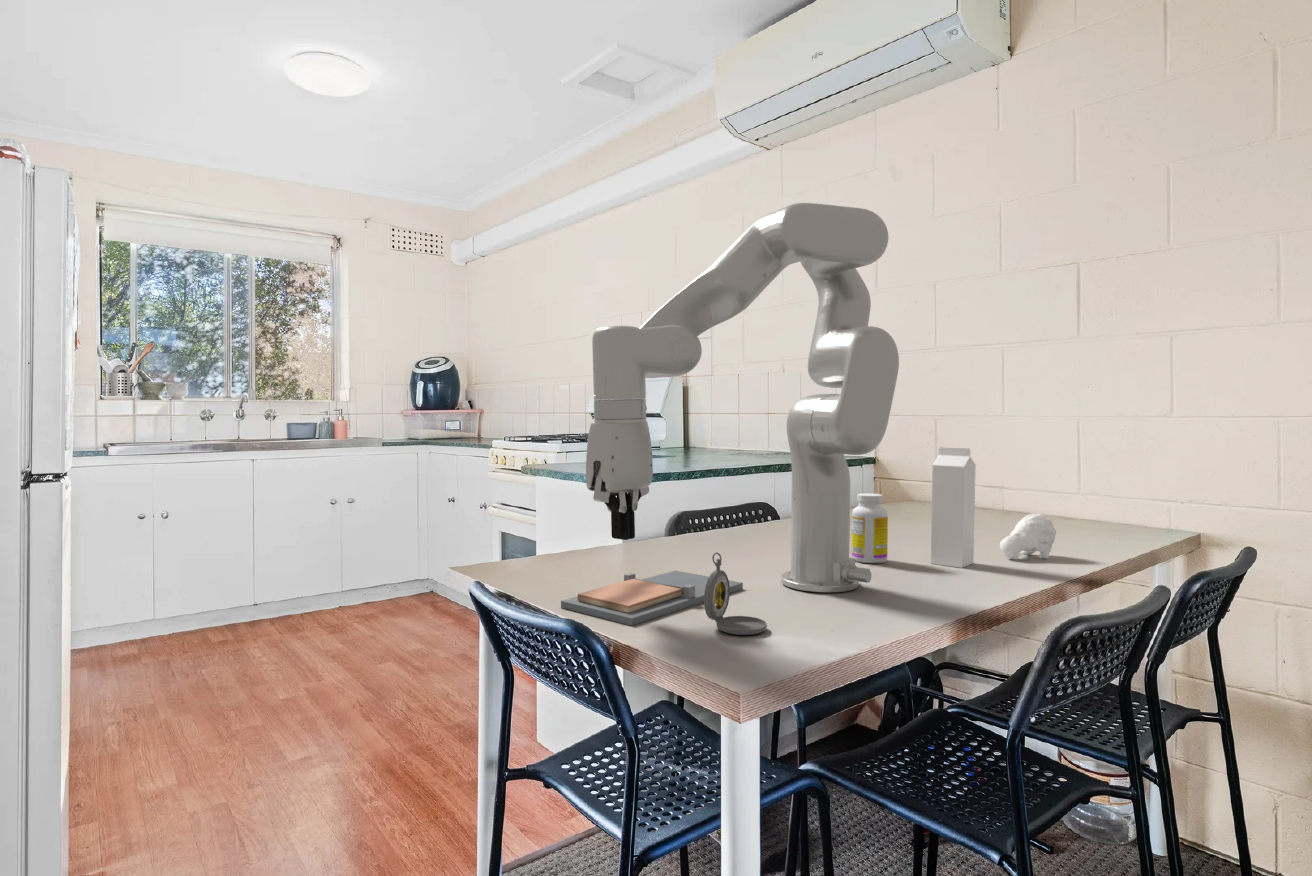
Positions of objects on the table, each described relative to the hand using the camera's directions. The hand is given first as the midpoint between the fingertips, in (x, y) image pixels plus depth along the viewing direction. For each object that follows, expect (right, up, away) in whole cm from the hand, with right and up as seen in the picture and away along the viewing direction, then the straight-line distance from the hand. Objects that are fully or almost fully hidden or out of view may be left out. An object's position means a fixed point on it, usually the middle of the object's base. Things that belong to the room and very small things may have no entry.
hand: (623, 538), depth 110 cm
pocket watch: (+15, -11, -9) cm, 21 cm away
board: (+5, -10, +7) cm, 13 cm away
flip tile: (+1, -8, +2) cm, 9 cm away
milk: (+61, -9, +33) cm, 70 cm away
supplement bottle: (+46, -9, +35) cm, 59 cm away
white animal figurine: (+78, -9, +39) cm, 87 cm away
